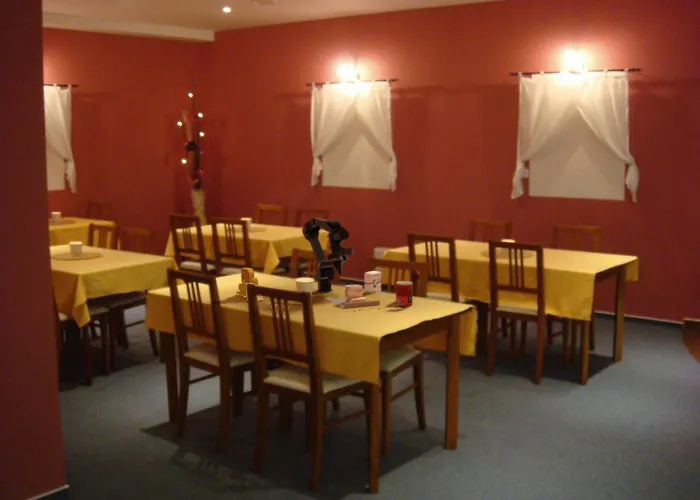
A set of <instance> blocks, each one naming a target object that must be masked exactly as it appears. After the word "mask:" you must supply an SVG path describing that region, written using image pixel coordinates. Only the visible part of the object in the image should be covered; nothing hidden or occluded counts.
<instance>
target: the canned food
mask: <svg viewBox="0 0 700 500" xmlns="http://www.w3.org/2000/svg"><path fill="white" fill-rule="evenodd" d="M413 288H414V285H413V281H411V280H410V281H409V280H400V281H399V280H398V281H396V282H395V303H396V304H400V307H403V306H407V307H412V305H413V303H414V302H413V295H414V292H413V291H414V290H413ZM401 304H402V305H401Z"/></svg>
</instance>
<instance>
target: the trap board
mask: <svg viewBox="0 0 700 500" xmlns="http://www.w3.org/2000/svg"><path fill="white" fill-rule="evenodd" d="M324 299H325V300H327V301H329V302H331V303H333V304H335V305H337V306H339V305H344V303H346V302H345V295H344V296H343V295H342V296H340V298H337V296H333V297H325V298H324ZM367 301H371V300H370V299H368V298H367Z"/></svg>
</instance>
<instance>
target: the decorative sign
mask: <svg viewBox="0 0 700 500" xmlns="http://www.w3.org/2000/svg"><path fill="white" fill-rule="evenodd" d="M240 275H241V276H240V279H241V281H240V282H241V283H238V286H237V287H238V290H236V292H235V293H236V294H239V295H243V296H246V283H253V284H255V285H258V286H259V280H258V277H255V272H254V269H253V268H251V267H242V268H240ZM259 297H260V296H259Z"/></svg>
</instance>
